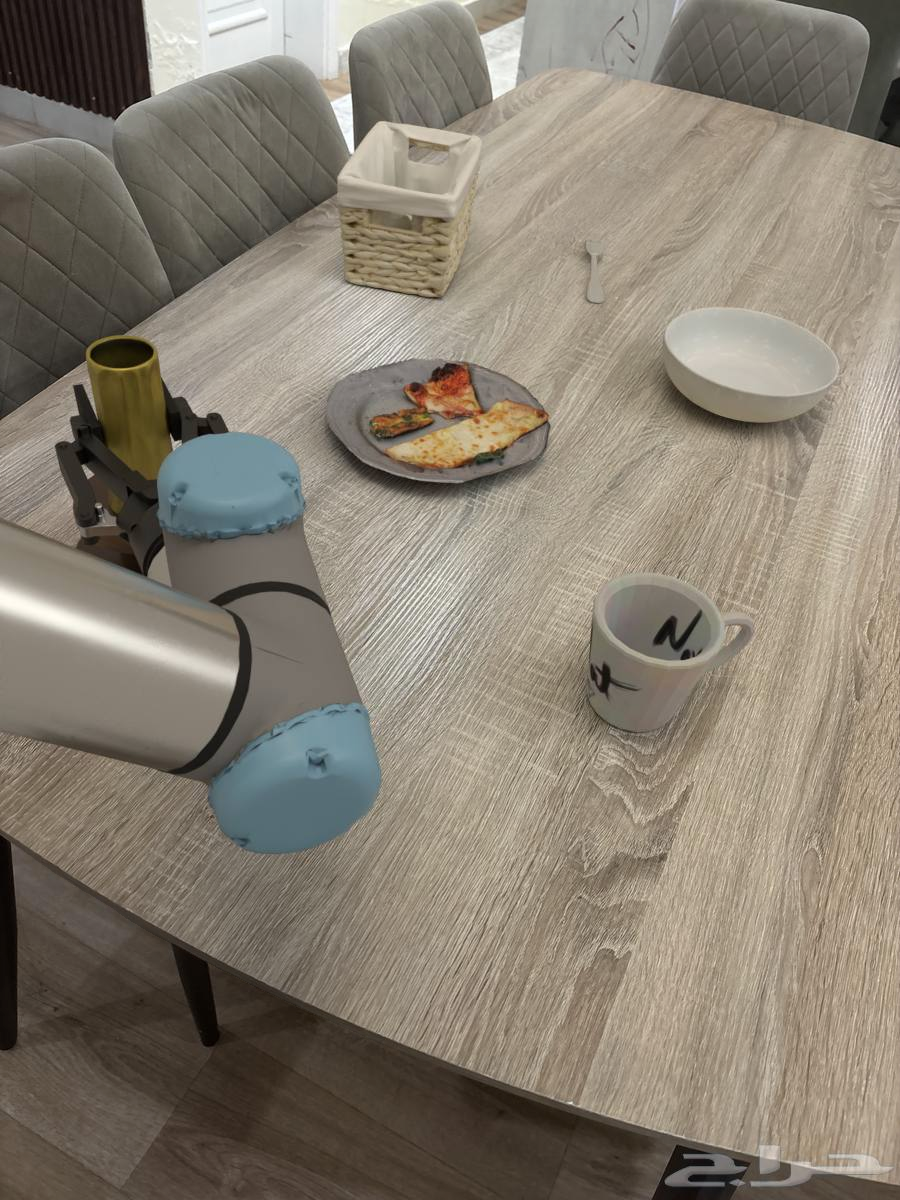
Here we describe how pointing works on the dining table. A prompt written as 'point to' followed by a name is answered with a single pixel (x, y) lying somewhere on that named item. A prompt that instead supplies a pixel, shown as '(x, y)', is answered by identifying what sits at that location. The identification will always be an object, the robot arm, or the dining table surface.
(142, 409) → the vase
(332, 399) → the food plate
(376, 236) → the basket
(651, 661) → the mug
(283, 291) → the dining table surface
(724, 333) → the serving bowl
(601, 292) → the fork
